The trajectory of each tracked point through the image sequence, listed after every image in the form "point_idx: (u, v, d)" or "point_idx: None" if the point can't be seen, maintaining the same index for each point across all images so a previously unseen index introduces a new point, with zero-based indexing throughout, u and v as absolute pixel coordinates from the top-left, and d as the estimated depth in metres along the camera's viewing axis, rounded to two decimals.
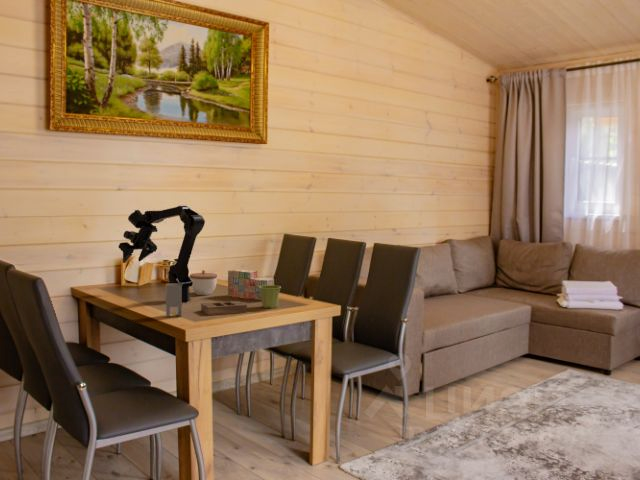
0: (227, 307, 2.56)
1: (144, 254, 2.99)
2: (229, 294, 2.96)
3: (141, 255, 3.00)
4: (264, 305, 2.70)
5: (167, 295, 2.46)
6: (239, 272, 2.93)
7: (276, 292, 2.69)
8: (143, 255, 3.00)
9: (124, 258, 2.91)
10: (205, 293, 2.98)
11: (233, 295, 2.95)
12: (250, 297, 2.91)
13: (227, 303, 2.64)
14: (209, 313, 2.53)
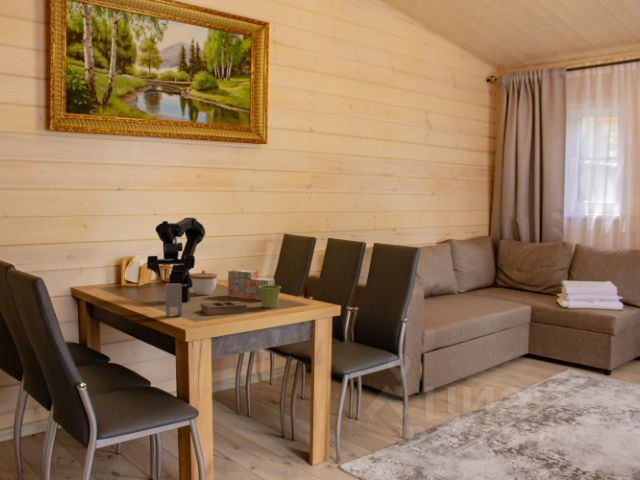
0: (227, 307, 2.56)
1: None
2: (229, 294, 2.96)
3: (159, 272, 2.57)
4: (264, 305, 2.70)
5: (167, 295, 2.46)
6: (239, 272, 2.92)
7: (276, 292, 2.69)
8: None
9: (185, 273, 2.59)
10: (205, 293, 2.98)
11: (233, 295, 2.95)
12: (251, 297, 2.90)
13: (227, 303, 2.64)
14: (209, 313, 2.53)
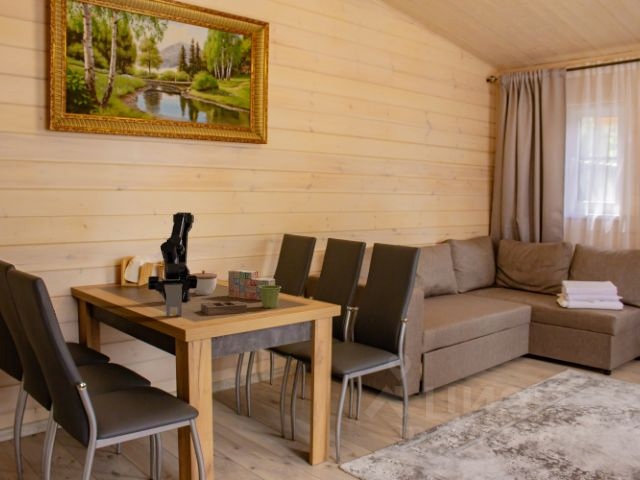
0: (227, 307, 2.56)
1: None
2: (229, 294, 2.95)
3: None
4: (264, 305, 2.70)
5: (167, 295, 2.46)
6: (240, 272, 2.92)
7: (276, 292, 2.69)
8: None
9: (184, 294, 2.51)
10: (205, 293, 2.98)
11: (234, 295, 2.94)
12: (251, 297, 2.90)
13: (227, 303, 2.64)
14: (209, 313, 2.53)
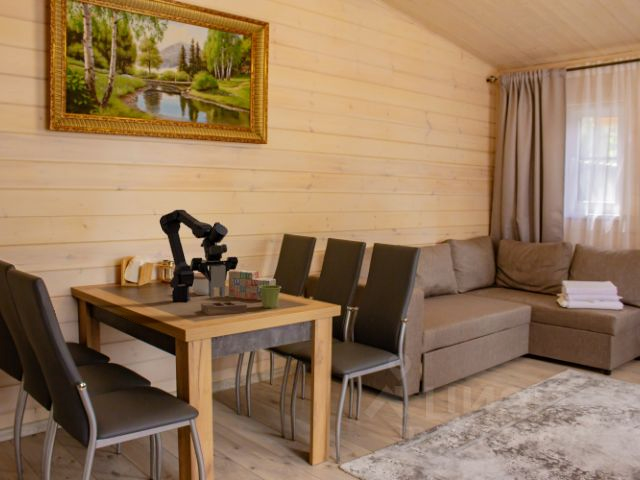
0: (227, 307, 2.56)
1: None
2: (230, 295, 2.95)
3: None
4: (264, 305, 2.70)
5: (212, 276, 2.54)
6: (240, 272, 2.91)
7: (276, 292, 2.69)
8: None
9: None
10: (205, 293, 2.98)
11: (234, 296, 2.94)
12: (252, 297, 2.90)
13: (227, 303, 2.64)
14: (209, 313, 2.53)
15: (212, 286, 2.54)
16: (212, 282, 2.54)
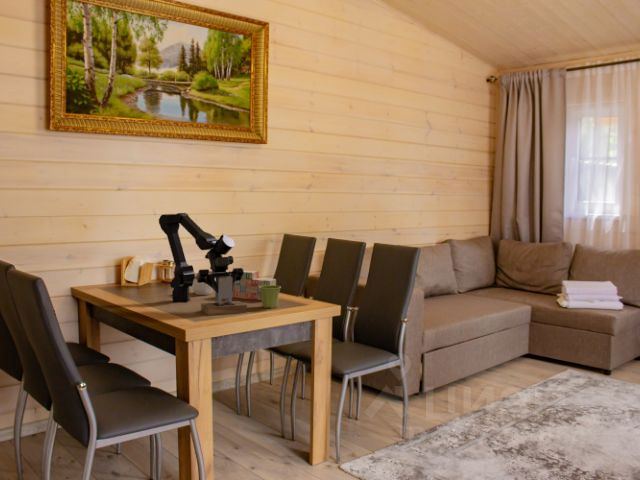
0: (227, 307, 2.56)
1: None
2: None
3: None
4: (264, 305, 2.70)
5: (219, 287, 2.57)
6: None
7: (276, 292, 2.69)
8: None
9: None
10: (205, 293, 2.98)
11: (234, 296, 2.93)
12: (252, 297, 2.90)
13: None
14: (209, 313, 2.53)
15: (219, 297, 2.57)
16: (219, 293, 2.57)
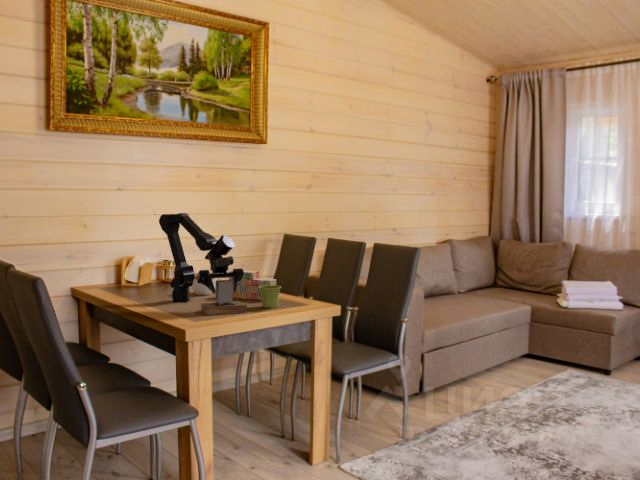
0: (227, 307, 2.56)
1: None
2: None
3: None
4: (264, 305, 2.70)
5: (219, 291, 2.57)
6: None
7: (276, 292, 2.69)
8: None
9: None
10: (205, 293, 2.98)
11: (234, 296, 2.93)
12: (252, 298, 2.89)
13: None
14: (209, 313, 2.53)
15: (220, 301, 2.57)
16: (220, 297, 2.57)
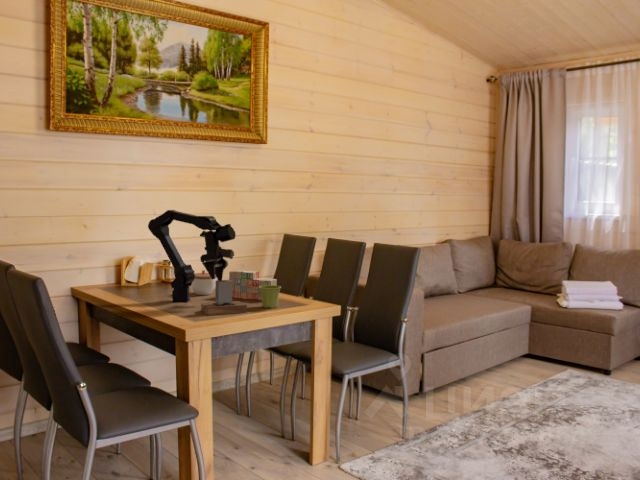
0: (227, 307, 2.56)
1: None
2: None
3: None
4: (264, 305, 2.70)
5: (219, 291, 2.57)
6: (241, 273, 2.91)
7: (276, 292, 2.69)
8: None
9: None
10: (205, 293, 2.98)
11: (235, 296, 2.93)
12: (253, 298, 2.89)
13: None
14: (209, 313, 2.53)
15: (220, 301, 2.57)
16: (219, 297, 2.57)
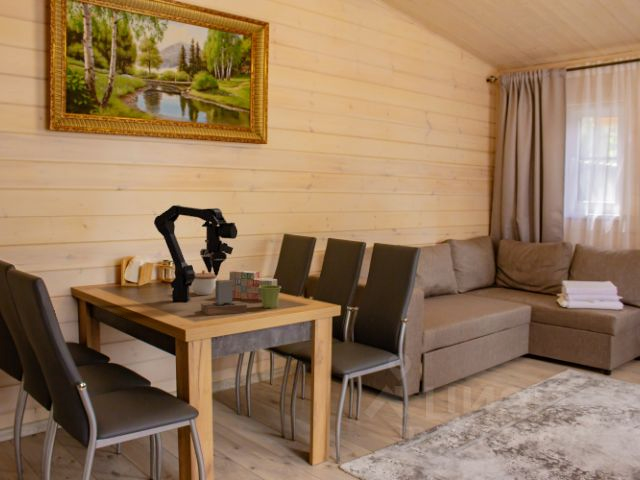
0: (227, 307, 2.56)
1: None
2: None
3: None
4: (264, 305, 2.70)
5: (219, 291, 2.57)
6: (241, 273, 2.90)
7: (276, 292, 2.69)
8: None
9: None
10: (205, 293, 2.98)
11: (235, 296, 2.92)
12: (253, 298, 2.89)
13: None
14: (209, 313, 2.53)
15: (220, 301, 2.57)
16: (219, 297, 2.57)
